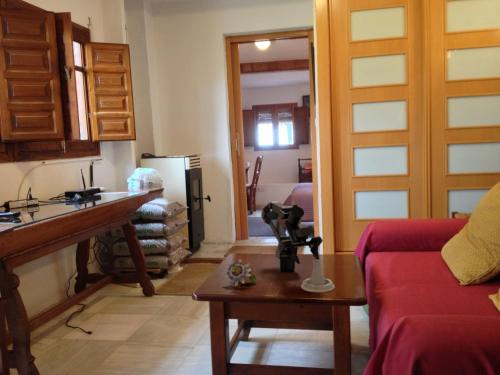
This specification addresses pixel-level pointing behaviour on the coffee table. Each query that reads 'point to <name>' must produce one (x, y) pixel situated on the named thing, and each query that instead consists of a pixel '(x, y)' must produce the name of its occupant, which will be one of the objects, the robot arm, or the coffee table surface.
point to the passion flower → (239, 273)
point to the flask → (316, 274)
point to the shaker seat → (318, 286)
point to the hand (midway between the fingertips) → (308, 262)
